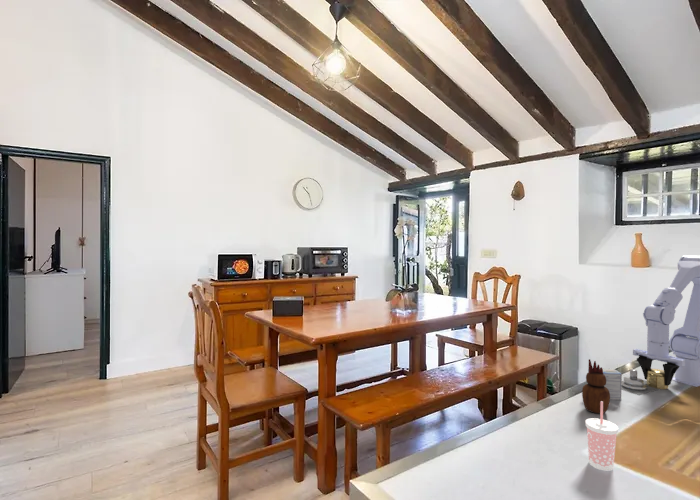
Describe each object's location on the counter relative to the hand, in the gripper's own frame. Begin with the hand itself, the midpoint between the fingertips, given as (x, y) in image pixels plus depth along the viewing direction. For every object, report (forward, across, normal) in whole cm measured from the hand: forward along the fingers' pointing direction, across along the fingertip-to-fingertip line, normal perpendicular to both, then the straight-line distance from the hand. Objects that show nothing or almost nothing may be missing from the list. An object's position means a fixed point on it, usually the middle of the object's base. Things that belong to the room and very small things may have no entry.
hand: (657, 381), depth 133 cm
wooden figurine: (+2, +3, -37) cm, 37 cm away
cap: (+1, 0, 0) cm, 1 cm away
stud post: (+1, -3, -8) cm, 9 cm away
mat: (+2, -3, -6) cm, 7 cm away
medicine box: (+2, -2, -25) cm, 25 cm away
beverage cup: (+2, +21, -63) cm, 66 cm away
